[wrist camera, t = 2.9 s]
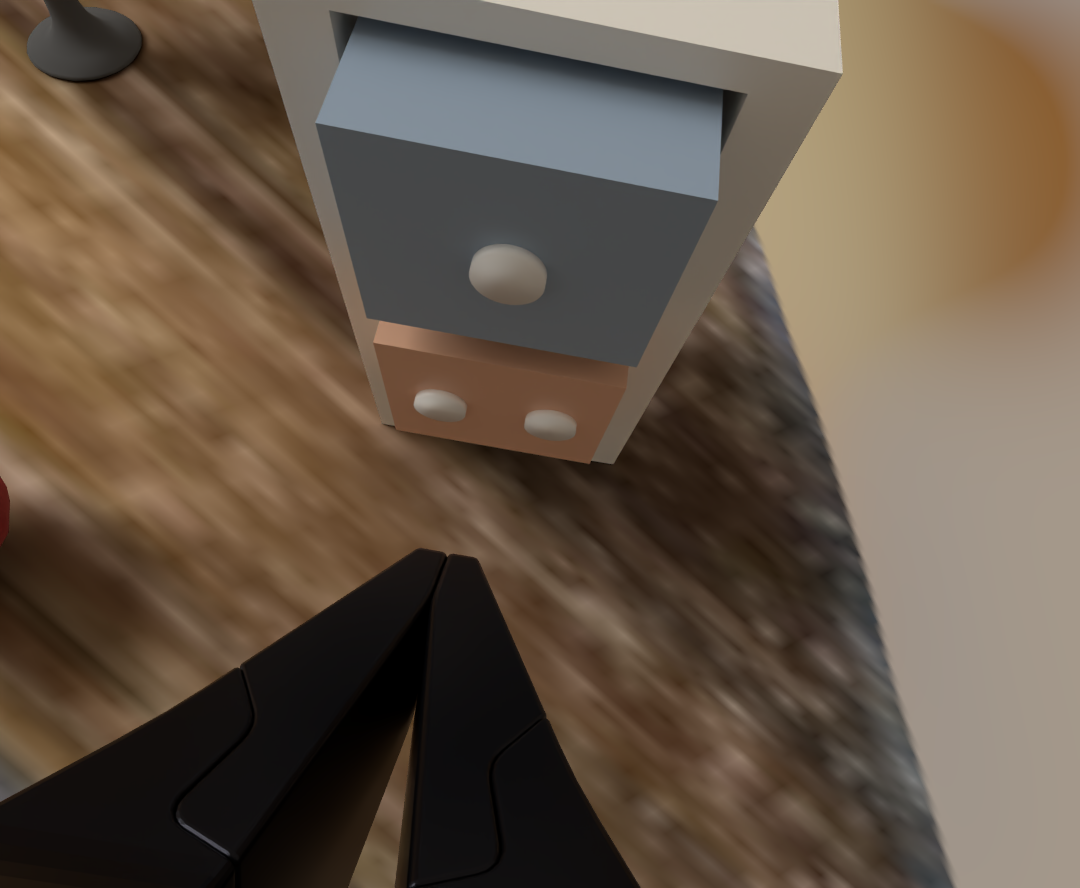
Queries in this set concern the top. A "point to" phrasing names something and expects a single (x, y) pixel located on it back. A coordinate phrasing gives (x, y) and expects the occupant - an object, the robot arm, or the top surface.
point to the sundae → (82, 41)
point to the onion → (4, 511)
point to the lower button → (497, 392)
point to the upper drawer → (516, 188)
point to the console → (613, 40)
